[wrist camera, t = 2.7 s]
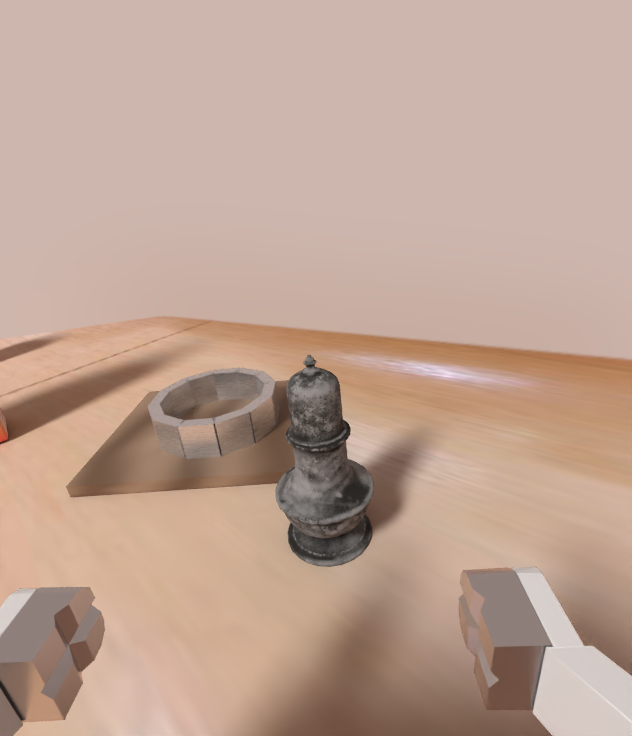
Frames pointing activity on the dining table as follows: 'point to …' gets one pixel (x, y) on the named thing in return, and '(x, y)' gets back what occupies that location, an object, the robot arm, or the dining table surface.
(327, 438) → the salt shaker
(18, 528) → the dining table surface
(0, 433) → the cracker box
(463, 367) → the dining table surface
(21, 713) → the robot arm
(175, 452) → the steel collar
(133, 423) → the walnut board
